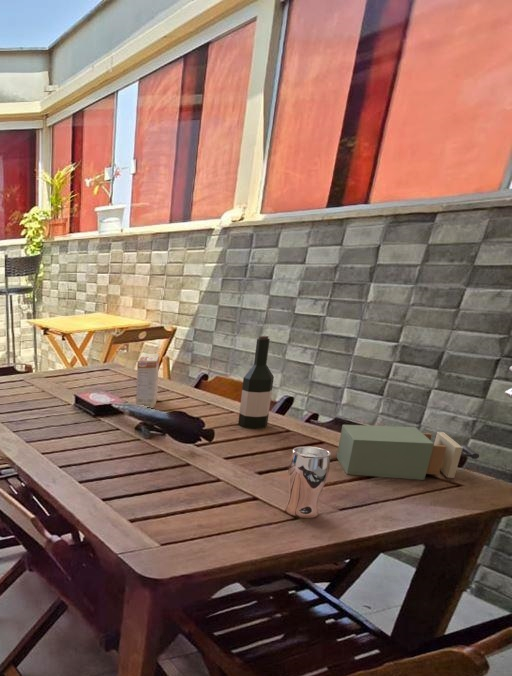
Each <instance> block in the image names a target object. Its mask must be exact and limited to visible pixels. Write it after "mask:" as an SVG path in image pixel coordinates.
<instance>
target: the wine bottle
mask: <svg viewBox="0 0 512 676" xmlns="http://www.w3.org/2000/svg"><path fill="white" fill-rule="evenodd" d="M270 340H271V339H270V338H269V336H268V335H259V336H258V338H257V339H256V345H255V353H254V359H253V361H254V362H253V365H252V367H251V368H250V369H249V370H248V371H247V373H246V374H245V375H244V376H243V381H242V387H241V388H242V389H241V397H240V405H239V412H238V413H239V414H238V423H237V425H238V426H239V425H240V427H242V428H244V427H245V428H244V429H252V430H257V429H265V428H266V427H267V426H268V422H269V415H270V407H271V400H272V393H273V385H274V378H275V376H274V375H273V373H272V371H271V370H270V368H269V366H268V365H267V363H268V355H269V348H270Z"/></svg>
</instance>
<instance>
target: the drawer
mask: <svg viewBox="0 0 512 676" xmlns="http://www.w3.org/2000/svg"><path fill="white" fill-rule="evenodd" d="M422 433H423V434H424V435H425V436H426V437H427V438H428V439H429V440H431V441H432V436H433V434H432V433H429V432H422ZM433 443H434V445H433V449H432V453H431V457H430V460H429V464H428V468H427V472H426V475H437V476H439V475H440V473H442V474H443V475H444V476H445V477H446V478H448V479H449V478H452V479H455V476H456V472H457V469H458V466H459V463H460V459H461V457H464V458H465V457H466V458H467V457H468V458H471V459H472V460H477V459H479V458H480V454H479V453H477V452H476V451H475V450H474V449H472V448H471V447H470V446H469V445H467V444H464V445H461V444H459V443H458V442H457V441H455V440H454V439H453V438H451V436H449V435H448V434H446V433H445V432H444V431H437V432H436V436H435V439H434V442H433ZM462 452H463V453H462Z"/></svg>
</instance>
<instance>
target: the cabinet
mask: <svg viewBox="0 0 512 676" xmlns="http://www.w3.org/2000/svg"><path fill="white" fill-rule="evenodd" d="M341 425H342V426H341V431H340V436H339V442H338V446H337V452H336V457H335V458H336V459H337V460H338V462H339V464H340V465H341V467H342V469H343V470H344V472H345V474H346V475H350V476H362V477H363V476H364V477H365V476H366V477H379V478H392V479H404V480H406V479H407V480H416V481H417V480H418V481H425V479H426V476H427V474H426V472H427V468H428V464H429V460H430V457H431V453H432V449H433V445H434V443H435V442H433V441H432V439H431V440H429V439H428V438H427V437H426V436H425V435H424V434H423V433H424V432H422V431H421V430H420V429H418V428H417V427H415V426H392V425H367V424H365V425H364V424H362V425H360V424H341Z"/></svg>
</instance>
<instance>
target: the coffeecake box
mask: <svg viewBox="0 0 512 676" xmlns="http://www.w3.org/2000/svg"><path fill="white" fill-rule="evenodd" d="M136 362H137V365H136V366H137V367H136V369H137V370H136V394H135V396H136V397H135V405H136V404H137V405H144V406H149V407H154V408H155V407H156V403H157V402H158V389H159V367H160V353H141V355H140V356H139V358H138V359H137V361H136Z"/></svg>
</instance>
